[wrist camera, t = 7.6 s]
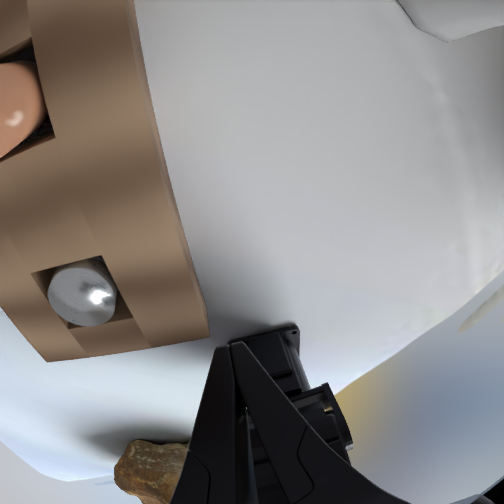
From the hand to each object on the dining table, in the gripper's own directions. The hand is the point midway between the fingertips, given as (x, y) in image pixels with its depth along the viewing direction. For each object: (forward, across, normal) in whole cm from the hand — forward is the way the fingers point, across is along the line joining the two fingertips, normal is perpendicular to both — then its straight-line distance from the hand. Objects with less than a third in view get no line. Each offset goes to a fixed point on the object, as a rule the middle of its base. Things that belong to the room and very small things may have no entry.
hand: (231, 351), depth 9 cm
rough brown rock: (+13, +18, +41) cm, 46 cm away
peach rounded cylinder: (+10, +8, -9) cm, 16 cm away
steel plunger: (+11, +9, +3) cm, 14 cm away
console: (+11, +9, -3) cm, 14 cm away
